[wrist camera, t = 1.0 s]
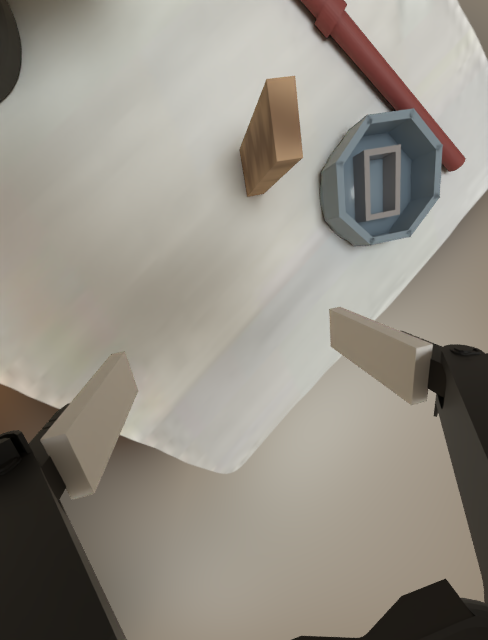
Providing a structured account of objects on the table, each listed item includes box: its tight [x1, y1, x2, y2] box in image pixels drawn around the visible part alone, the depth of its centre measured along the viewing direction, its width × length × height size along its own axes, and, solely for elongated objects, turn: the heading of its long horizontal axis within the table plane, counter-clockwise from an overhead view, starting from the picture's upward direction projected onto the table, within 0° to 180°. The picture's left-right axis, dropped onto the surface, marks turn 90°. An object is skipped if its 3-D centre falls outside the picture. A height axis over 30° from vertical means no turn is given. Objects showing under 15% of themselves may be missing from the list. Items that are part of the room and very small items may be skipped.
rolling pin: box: [301, 0, 465, 171], centre depth 31 cm, size 45×3×3 cm, turn 57°
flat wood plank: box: [240, 76, 303, 197], centre depth 27 cm, size 6×2×14 cm, turn 10°
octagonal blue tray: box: [320, 108, 443, 246], centre depth 35 cm, size 16×16×5 cm
